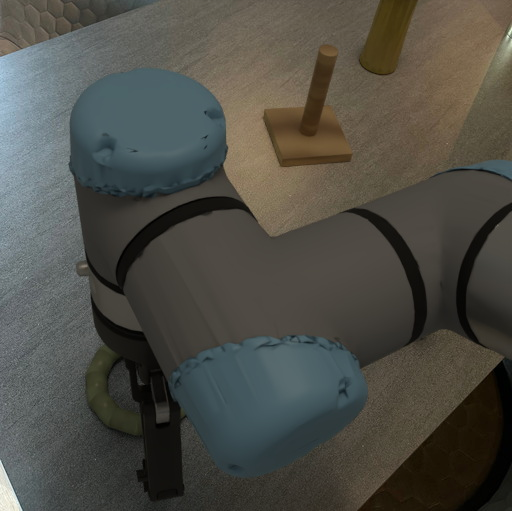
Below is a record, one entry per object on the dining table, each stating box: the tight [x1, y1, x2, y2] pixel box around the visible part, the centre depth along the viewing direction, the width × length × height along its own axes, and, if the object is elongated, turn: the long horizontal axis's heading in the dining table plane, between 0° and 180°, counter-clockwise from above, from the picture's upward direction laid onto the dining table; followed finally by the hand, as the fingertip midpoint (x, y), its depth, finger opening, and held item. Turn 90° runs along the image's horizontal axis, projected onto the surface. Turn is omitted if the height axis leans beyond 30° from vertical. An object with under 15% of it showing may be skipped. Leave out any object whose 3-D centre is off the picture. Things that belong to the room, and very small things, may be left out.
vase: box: [359, 0, 419, 75], centre depth 95 cm, size 6×6×14 cm
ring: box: [84, 343, 187, 437], centre depth 62 cm, size 11×11×2 cm
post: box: [262, 43, 354, 168], centre depth 82 cm, size 10×10×14 cm
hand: (148, 411), depth 58 cm, fingers open, 13 cm apart
